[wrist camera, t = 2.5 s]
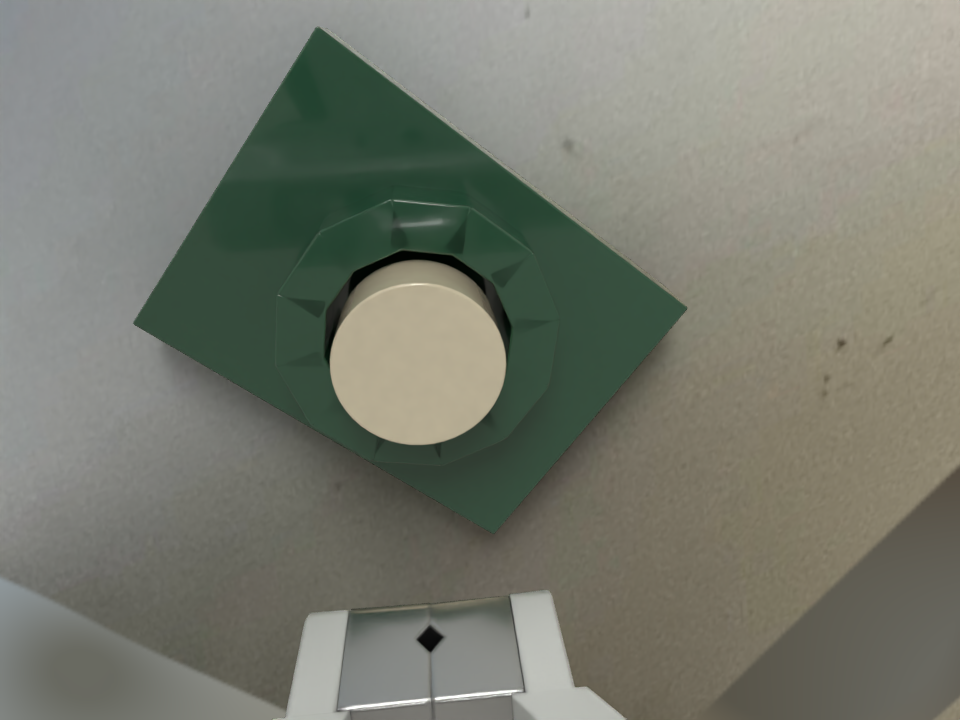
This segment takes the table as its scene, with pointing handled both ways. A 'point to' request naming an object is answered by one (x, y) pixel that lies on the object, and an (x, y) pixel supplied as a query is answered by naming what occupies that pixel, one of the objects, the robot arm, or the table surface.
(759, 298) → the table surface
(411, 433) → the cream short cylinder
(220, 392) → the table surface
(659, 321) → the green peg board
